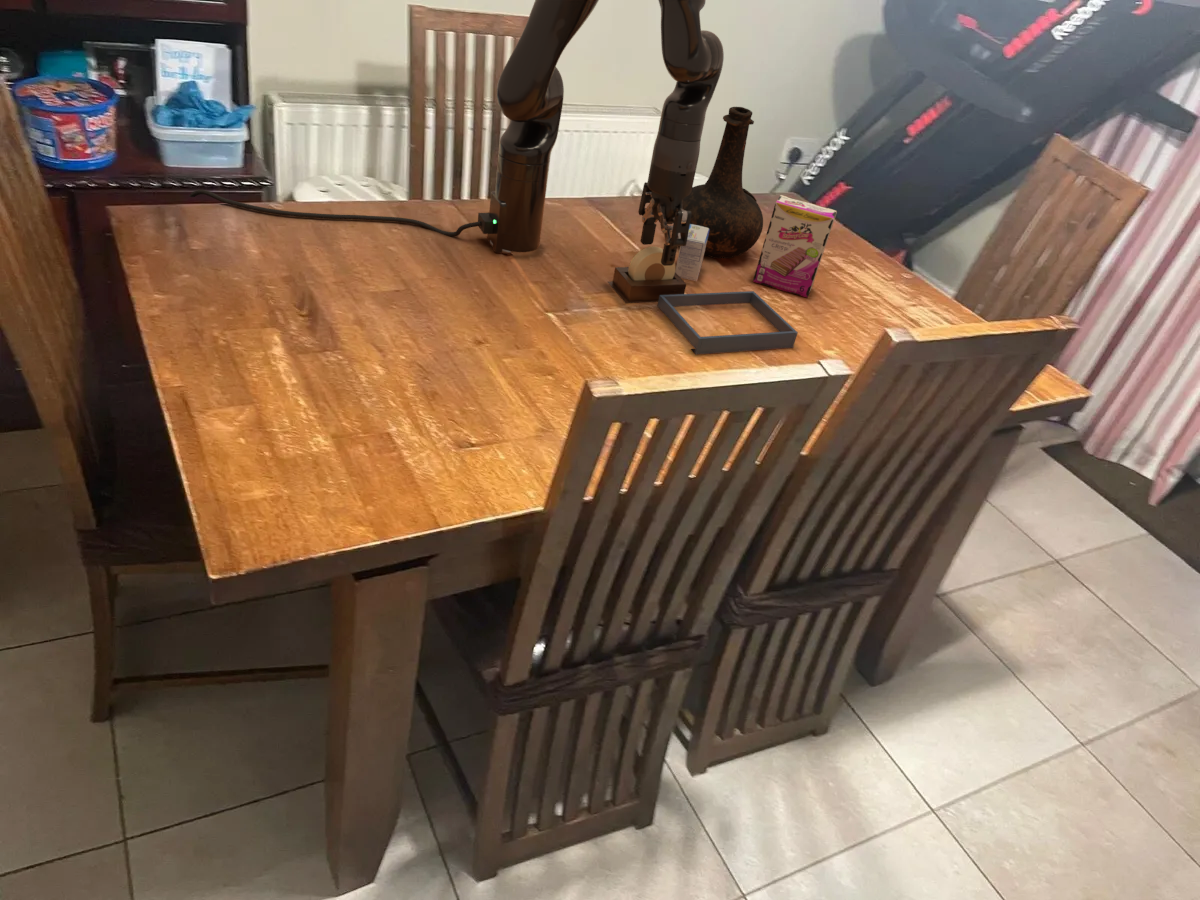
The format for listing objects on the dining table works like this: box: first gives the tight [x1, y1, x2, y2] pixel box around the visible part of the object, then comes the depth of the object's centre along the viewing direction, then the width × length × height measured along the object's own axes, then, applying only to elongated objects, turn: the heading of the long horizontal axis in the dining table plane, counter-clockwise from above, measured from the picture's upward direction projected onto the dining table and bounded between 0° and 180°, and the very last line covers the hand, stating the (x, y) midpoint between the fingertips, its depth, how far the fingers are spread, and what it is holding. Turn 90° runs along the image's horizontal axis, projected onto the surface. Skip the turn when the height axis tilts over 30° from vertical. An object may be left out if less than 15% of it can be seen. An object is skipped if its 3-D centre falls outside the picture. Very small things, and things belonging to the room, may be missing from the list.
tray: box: [657, 290, 799, 356], centre depth 158 cm, size 19×15×3 cm
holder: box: [607, 266, 687, 304], centre depth 164 cm, size 8×12×4 cm
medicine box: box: [675, 224, 710, 282], centre depth 173 cm, size 8×4×9 cm, turn 168°
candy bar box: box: [752, 194, 838, 298], centre depth 173 cm, size 11×5×16 cm, turn 71°
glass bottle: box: [680, 106, 764, 259], centre depth 179 cm, size 18×18×28 cm
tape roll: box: [628, 245, 676, 281], centre depth 162 cm, size 2×8×8 cm, turn 113°
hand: (656, 254), depth 160 cm, fingers open, 8 cm apart
